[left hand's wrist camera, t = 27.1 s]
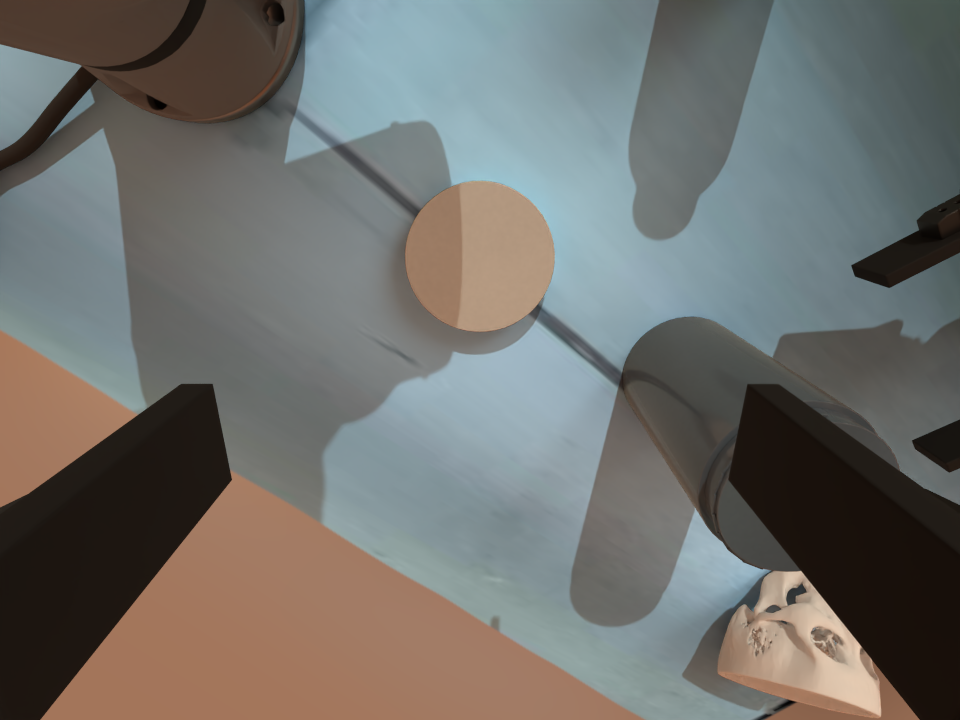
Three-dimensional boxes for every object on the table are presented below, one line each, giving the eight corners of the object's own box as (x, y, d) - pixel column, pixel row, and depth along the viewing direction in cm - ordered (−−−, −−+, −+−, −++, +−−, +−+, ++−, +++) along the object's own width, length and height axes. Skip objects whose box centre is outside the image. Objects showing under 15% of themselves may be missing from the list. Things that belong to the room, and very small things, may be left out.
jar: (662, 296, 40) (788, 383, 24) (766, 346, 41) (951, 460, 25) (600, 400, 43) (673, 540, 27) (699, 443, 44) (824, 600, 28)
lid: (429, 338, 41) (427, 345, 39) (390, 200, 37) (386, 202, 36) (562, 308, 40) (566, 314, 38) (536, 164, 36) (539, 164, 35)
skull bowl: (891, 575, 47) (930, 732, 40) (764, 596, 58) (776, 723, 50) (806, 531, 46) (830, 687, 38) (691, 561, 56) (692, 687, 49)
